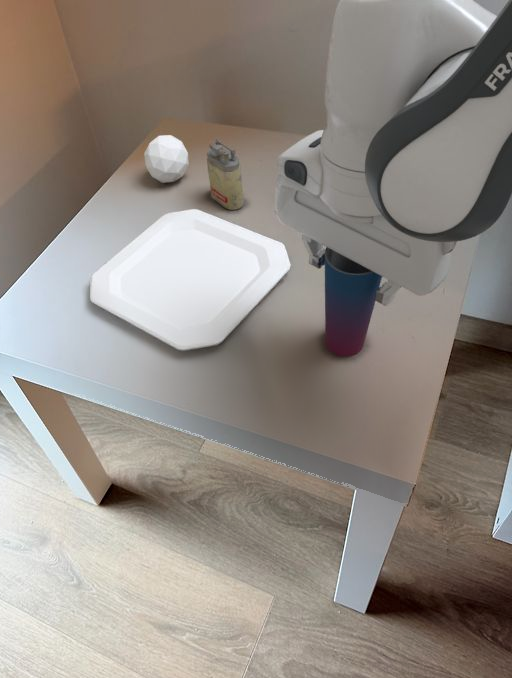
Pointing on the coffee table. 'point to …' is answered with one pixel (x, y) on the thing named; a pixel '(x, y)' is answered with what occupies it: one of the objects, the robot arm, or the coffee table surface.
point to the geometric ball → (166, 158)
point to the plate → (189, 278)
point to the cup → (347, 303)
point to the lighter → (225, 176)
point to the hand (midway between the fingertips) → (349, 281)
